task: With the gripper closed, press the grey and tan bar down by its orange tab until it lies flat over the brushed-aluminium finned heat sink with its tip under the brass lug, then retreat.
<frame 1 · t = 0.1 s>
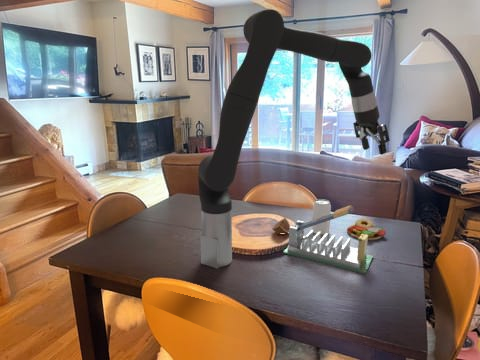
hand: (374, 151, 122), 31 cm above the table, tool tilted 20°, fingers open, 8 cm apart
fruit slice: (281, 234, 132), on the table
can: (320, 232, 133), on the table
toy food set: (365, 234, 132), on the table
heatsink: (295, 247, 120), on the table
grey and tan bar: (321, 220, 113), point 12 cm above the table, hinge at 30.0°
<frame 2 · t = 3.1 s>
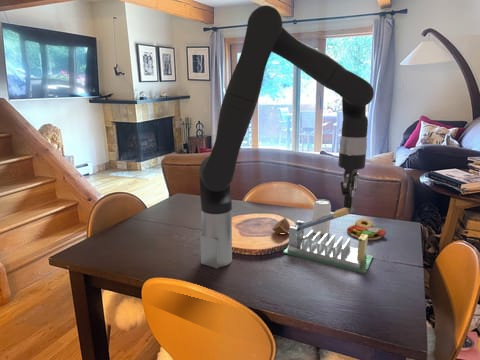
hand: (347, 207, 108), 18 cm above the table, tool pointing down, fingers closed
grey and tan bar: (321, 220, 113), point 12 cm above the table, hinge at 29.8°, touching gripper
everything else where it was.
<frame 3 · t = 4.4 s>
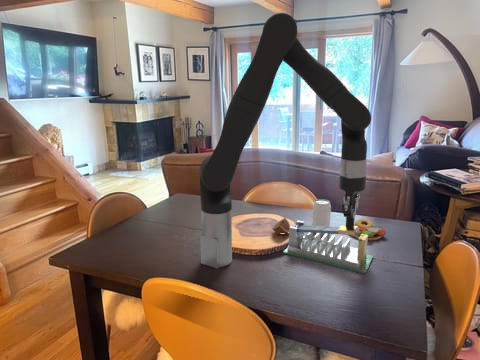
hand: (349, 227, 109), 11 cm above the table, tool pointing down, fingers closed
grey and tan bar: (324, 229, 114), point 9 cm above the table, hinge at 9.5°, touching gripper
everything else where it was.
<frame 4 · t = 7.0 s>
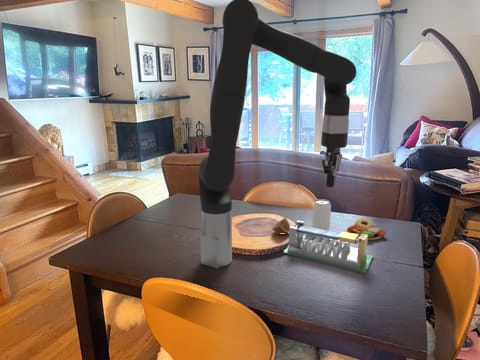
hand: (330, 186, 109), 23 cm above the table, tool pointing down, fingers closed
grey and tan bar: (324, 233, 114), point 7 cm above the table, hinge at 1.4°
everything else where it was.
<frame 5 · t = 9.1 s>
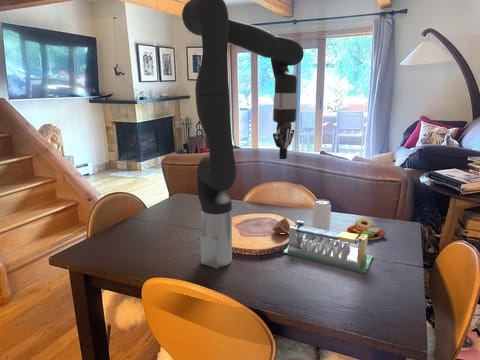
hand: (283, 158, 121), 29 cm above the table, tool pointing down, fingers closed
nothing on the table moved.
at the end: grey and tan bar at +1° (first picture: +30°); the gripper is holding nothing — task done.
